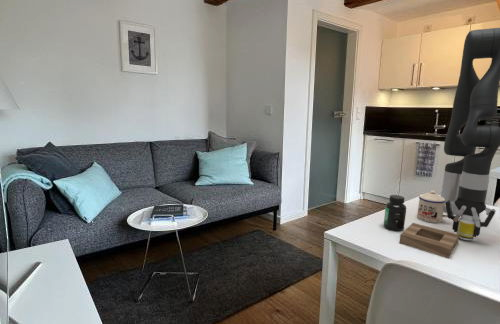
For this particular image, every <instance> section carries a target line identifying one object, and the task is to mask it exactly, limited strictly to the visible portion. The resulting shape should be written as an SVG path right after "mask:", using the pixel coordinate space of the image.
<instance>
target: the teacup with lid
mask: <svg viewBox="0 0 500 324" xmlns="http://www.w3.org/2000/svg"><path fill="white" fill-rule="evenodd" d="M445 202H446V201H445V198H443V197H441V195H439V194H438V193H437V191H436V190H429V192H427V193H421V194H419V196H418V205H417V212H416V213H417V214H416V217H417V219H419V220H421V221H423V222H426V223H432V224H433V223H434V224H437V223H441V222H443V218H448V217H447V214H444V211H443V210H444V207H446V205H445V204H444V203H445ZM452 212H453V209H452Z"/></svg>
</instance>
